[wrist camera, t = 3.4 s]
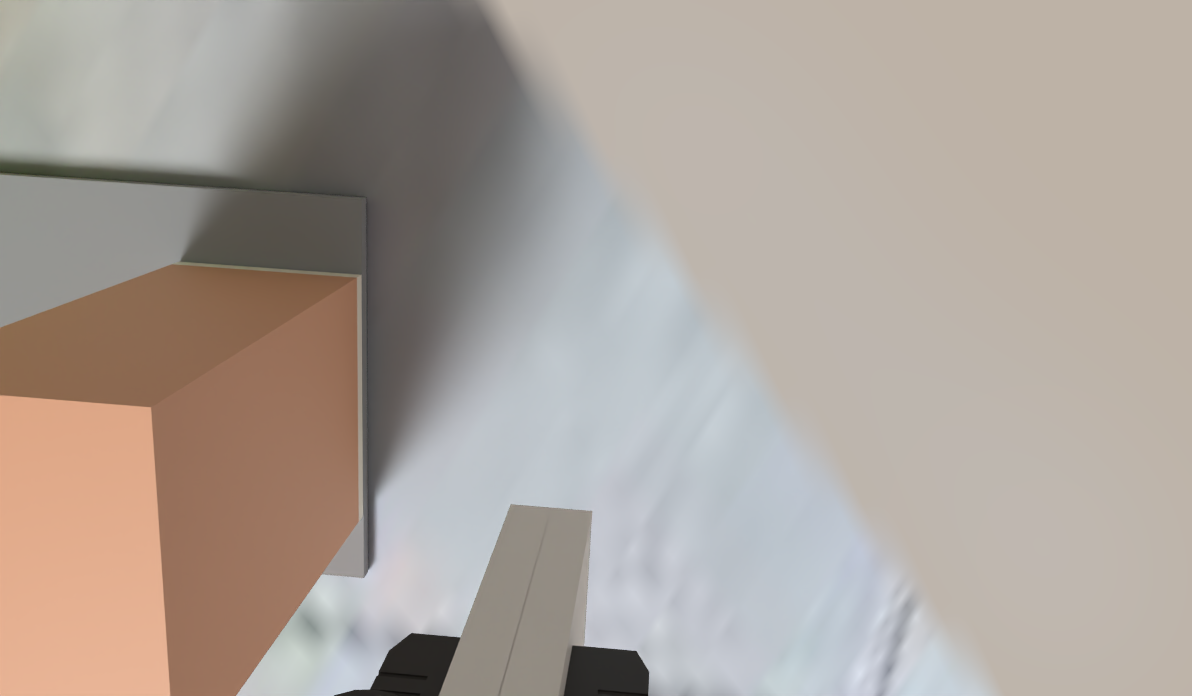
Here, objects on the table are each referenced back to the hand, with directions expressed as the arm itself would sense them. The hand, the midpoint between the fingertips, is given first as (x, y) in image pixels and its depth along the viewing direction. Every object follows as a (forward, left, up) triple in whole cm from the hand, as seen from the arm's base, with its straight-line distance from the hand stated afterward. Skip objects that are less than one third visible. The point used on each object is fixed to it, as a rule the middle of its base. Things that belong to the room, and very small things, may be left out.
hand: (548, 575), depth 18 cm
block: (0, -9, -9) cm, 12 cm away
